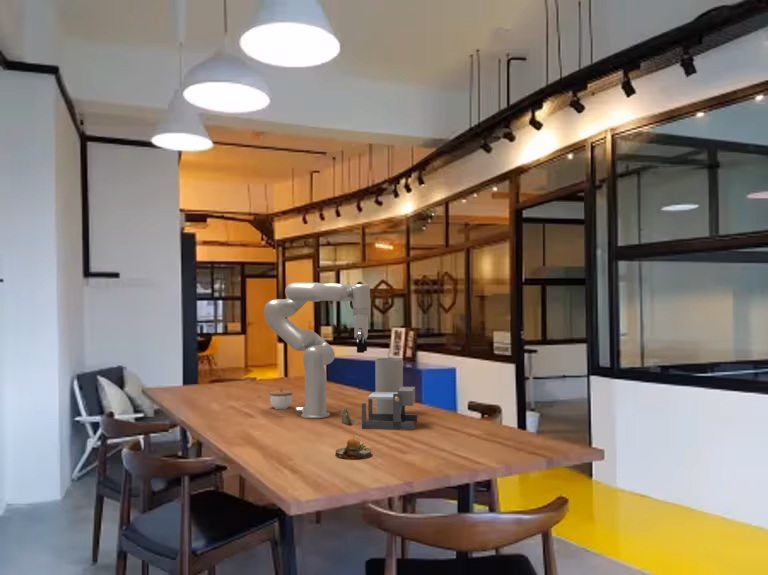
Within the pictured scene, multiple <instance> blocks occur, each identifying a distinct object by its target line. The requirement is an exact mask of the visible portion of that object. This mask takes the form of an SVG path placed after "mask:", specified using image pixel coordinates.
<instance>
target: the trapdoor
mask: <svg viewBox="0 0 768 575" xmlns="http://www.w3.org/2000/svg"><path fill="white" fill-rule="evenodd" d="M393 394H401V406H405V407H406V406H407V407H414V404H415V402H416V386H403V387H400V389H399V390H398V392H375V391H373V392H372V393H370V394H369V395H368V396H367V399H372V400H376V399H390V400H393Z"/></svg>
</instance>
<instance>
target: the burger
mask: <svg viewBox="0 0 768 575" xmlns="http://www.w3.org/2000/svg"><path fill="white" fill-rule="evenodd" d="M346 444H347V445H346V446H345V447H341V448H338V449H336V450H335V455H334V456H335V457H336V458H337V459H340V458H344V459H345V460H362V459H367V458H370V457H371V456H372V453H371V452H372V450H371V449H370V448H368V447H366V445H364V444H365V443H362V444H361V441H360V440H359V438H355V437H351V438H349V439H348V440H347V442H346Z"/></svg>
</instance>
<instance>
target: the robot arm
mask: <svg viewBox="0 0 768 575" xmlns="http://www.w3.org/2000/svg"><path fill="white" fill-rule="evenodd" d="M284 294H285V296H286V298H284V299H283V298H275V299H271V300H269V301H268V302H266V304H265V306H264V309H263V317H264V319H265V322H266V324H267V326H268V327H269V328H270V329H271V330H272V331H273V332H274V333H275V334H277V335H278V336H279V337H280V338H281V339H282V340H283V341H284V342H285V343H286V344H287V345H288V346H289V347H290V348H291V349H293V350H294V351H296V352H303V354H302V362H303V367H304V370H303V371H304V406H296V407H295V412H301V413H300V414H301V417H302V418H303V419H305V418H306V419H322V418H323V419H324V418H328V417H330V415H331V414H330V413H329V412H327V372H326V368H325V366H327V365H329V364H331V363H333V361H334V360H335V357H336V355H335V354H336V352H335V350H334V348H333V347H332V346H331V345H330V344H329V343H328V342H327V341H326V340H325V339H323V338H322V336H320V335H319V334H318V333H316V332H315V331H314V330H310V329H304V330H303V329H301V328H299V327H298V326H297V325H296V324H295V323H293V321H291V320H290V319H288V318H291V317H293V316H295V314H297V313H298V312H299V310H300V309H302V308H303V307H304V306H305V304H306V303H307V302H316V303H317V302H322V301H323V302H324V301H326V302H327V301H329V302H330V301H331V302H352V316H353V317H354V339H355V340H356V353H357V354H358V353H360V354H364V353H365V352H367V351H368V342H367V338H368V336H369V335H368V331H369V330H368V329H369V325H368V324H369V322H368V321H369V320H368V318H369V317H370V316H371V287H370V285H369V284H366V283H359V284H349V283H347V284H346V283H320V282H291V283H289V284H288V285H287V286H285V290H284Z"/></svg>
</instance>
